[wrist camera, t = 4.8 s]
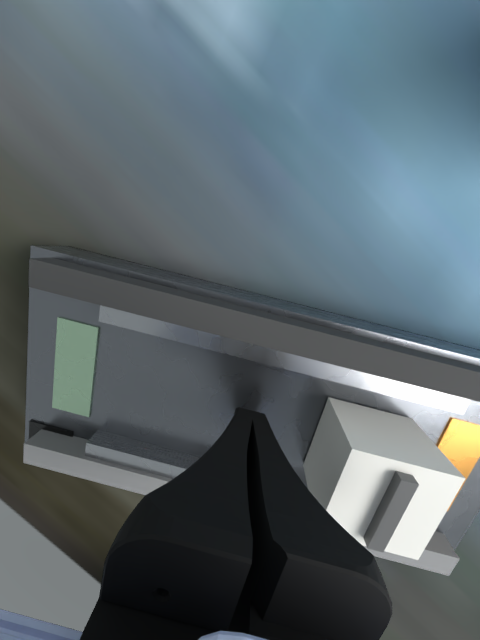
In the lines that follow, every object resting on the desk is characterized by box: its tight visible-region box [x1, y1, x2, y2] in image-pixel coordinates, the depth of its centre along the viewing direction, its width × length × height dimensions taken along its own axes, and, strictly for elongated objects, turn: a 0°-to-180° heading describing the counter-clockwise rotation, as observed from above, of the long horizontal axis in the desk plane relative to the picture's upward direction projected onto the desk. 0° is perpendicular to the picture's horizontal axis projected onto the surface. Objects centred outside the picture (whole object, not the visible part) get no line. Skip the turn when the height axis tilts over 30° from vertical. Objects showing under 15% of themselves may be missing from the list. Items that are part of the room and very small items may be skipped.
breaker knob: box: [303, 397, 466, 560], centre depth 11 cm, size 4×4×4 cm
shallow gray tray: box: [23, 258, 480, 576], centre depth 13 cm, size 10×22×1 cm, turn 76°
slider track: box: [25, 245, 480, 550], centre depth 14 cm, size 11×24×4 cm, turn 76°
